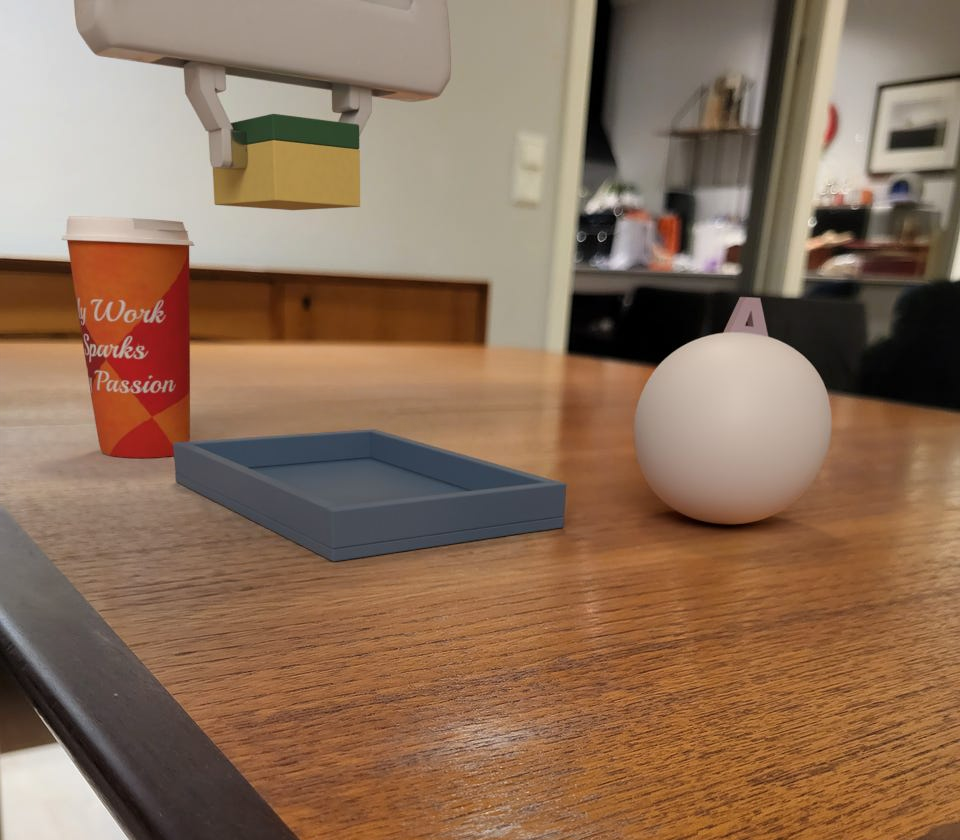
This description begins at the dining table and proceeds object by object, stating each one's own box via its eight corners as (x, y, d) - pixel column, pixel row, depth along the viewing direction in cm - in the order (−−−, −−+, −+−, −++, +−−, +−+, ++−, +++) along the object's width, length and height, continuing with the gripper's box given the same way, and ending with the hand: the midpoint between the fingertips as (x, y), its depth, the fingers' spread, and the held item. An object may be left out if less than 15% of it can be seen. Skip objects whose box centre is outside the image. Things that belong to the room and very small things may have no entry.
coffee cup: (56, 454, 68) (30, 213, 62) (130, 437, 75) (112, 220, 70) (164, 465, 65) (146, 217, 60) (229, 446, 73) (218, 224, 68)
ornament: (725, 496, 63) (750, 295, 59) (853, 534, 55) (893, 304, 51) (592, 508, 58) (609, 291, 54) (710, 552, 50) (742, 300, 46)
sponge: (214, 204, 57) (209, 126, 56) (293, 210, 60) (291, 136, 59) (275, 200, 51) (272, 113, 50) (360, 207, 54) (359, 124, 53)
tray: (175, 481, 61) (172, 442, 60) (374, 464, 69) (374, 428, 68) (332, 562, 46) (332, 511, 45) (563, 527, 54) (567, 483, 53)
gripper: (414, -69, 58) (411, 190, 63) (47, -165, 47) (78, 160, 52) (477, -96, 54) (469, 186, 59) (87, -210, 42) (117, 152, 47)
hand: (283, 174), depth 55 cm, fingers closed on sponge, 5 cm apart
